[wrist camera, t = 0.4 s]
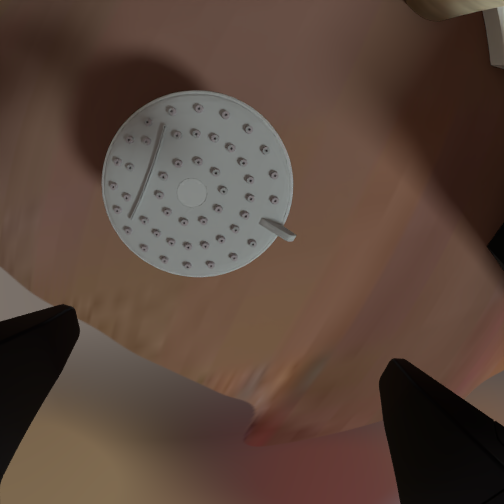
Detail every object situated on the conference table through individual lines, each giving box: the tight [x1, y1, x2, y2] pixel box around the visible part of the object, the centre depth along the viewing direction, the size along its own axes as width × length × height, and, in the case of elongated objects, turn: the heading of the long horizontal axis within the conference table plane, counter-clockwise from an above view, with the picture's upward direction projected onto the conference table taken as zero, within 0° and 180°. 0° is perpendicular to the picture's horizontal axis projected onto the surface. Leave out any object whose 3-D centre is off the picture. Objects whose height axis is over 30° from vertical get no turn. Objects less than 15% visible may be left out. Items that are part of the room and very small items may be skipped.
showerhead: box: [102, 90, 296, 277], centre depth 17 cm, size 9×7×10 cm
